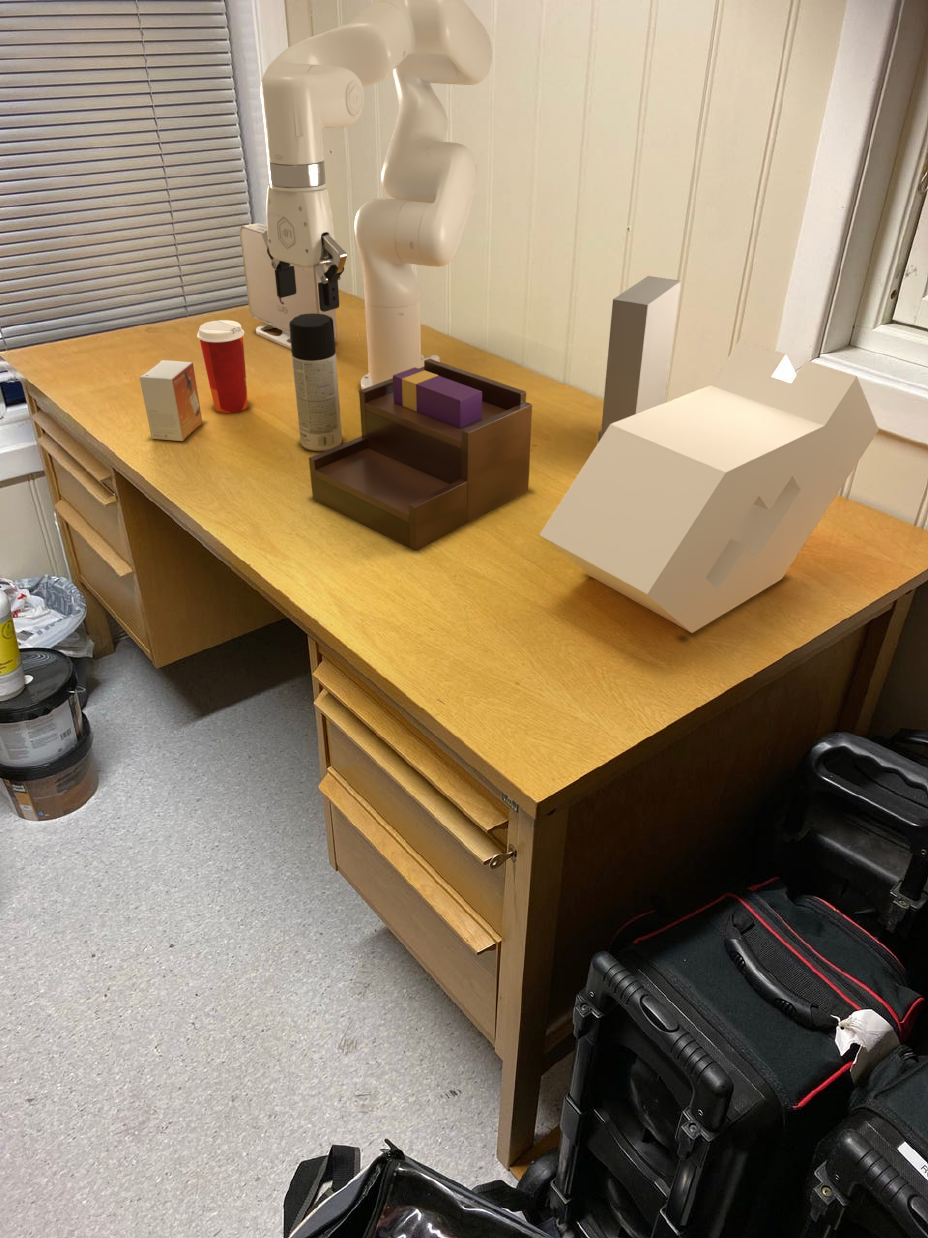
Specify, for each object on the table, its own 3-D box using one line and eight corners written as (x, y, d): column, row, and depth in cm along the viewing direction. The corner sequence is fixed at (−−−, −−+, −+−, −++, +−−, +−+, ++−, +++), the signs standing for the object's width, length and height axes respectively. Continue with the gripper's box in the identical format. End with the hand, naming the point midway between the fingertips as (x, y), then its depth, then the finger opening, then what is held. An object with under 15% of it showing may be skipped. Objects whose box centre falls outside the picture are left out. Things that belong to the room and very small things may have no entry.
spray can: (349, 438, 155) (341, 314, 144) (331, 455, 150) (321, 328, 138) (312, 432, 157) (301, 310, 145) (293, 449, 152) (279, 323, 140)
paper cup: (262, 402, 167) (252, 322, 159) (236, 418, 161) (224, 336, 153) (225, 395, 170) (214, 316, 162) (198, 410, 164) (185, 329, 156)
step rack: (425, 448, 152) (423, 356, 143) (528, 491, 140) (533, 393, 132) (312, 498, 138) (302, 400, 130) (415, 550, 126) (412, 446, 118)
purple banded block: (415, 393, 139) (415, 366, 137) (482, 419, 132) (482, 390, 130) (393, 402, 136) (392, 374, 134) (459, 428, 129) (460, 400, 127)
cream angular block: (647, 594, 101) (830, 311, 100) (539, 534, 111) (704, 277, 110) (726, 663, 121) (879, 429, 120) (629, 608, 131) (769, 392, 130)
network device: (241, 327, 200) (228, 226, 188) (277, 318, 205) (266, 219, 193) (313, 359, 185) (303, 251, 173) (349, 348, 189) (342, 243, 178)
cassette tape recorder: (626, 429, 158) (643, 274, 144) (661, 437, 156) (682, 280, 141) (592, 461, 148) (606, 298, 134) (629, 470, 146) (648, 305, 131)
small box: (183, 442, 154) (171, 379, 148) (150, 439, 154) (138, 376, 148) (203, 422, 160) (193, 361, 154) (172, 419, 161) (161, 358, 155)
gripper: (236, 170, 133) (251, 295, 143) (317, 188, 123) (327, 320, 133) (279, 164, 138) (291, 285, 147) (360, 180, 128) (367, 309, 138)
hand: (308, 302), depth 140 cm, fingers open, 9 cm apart
